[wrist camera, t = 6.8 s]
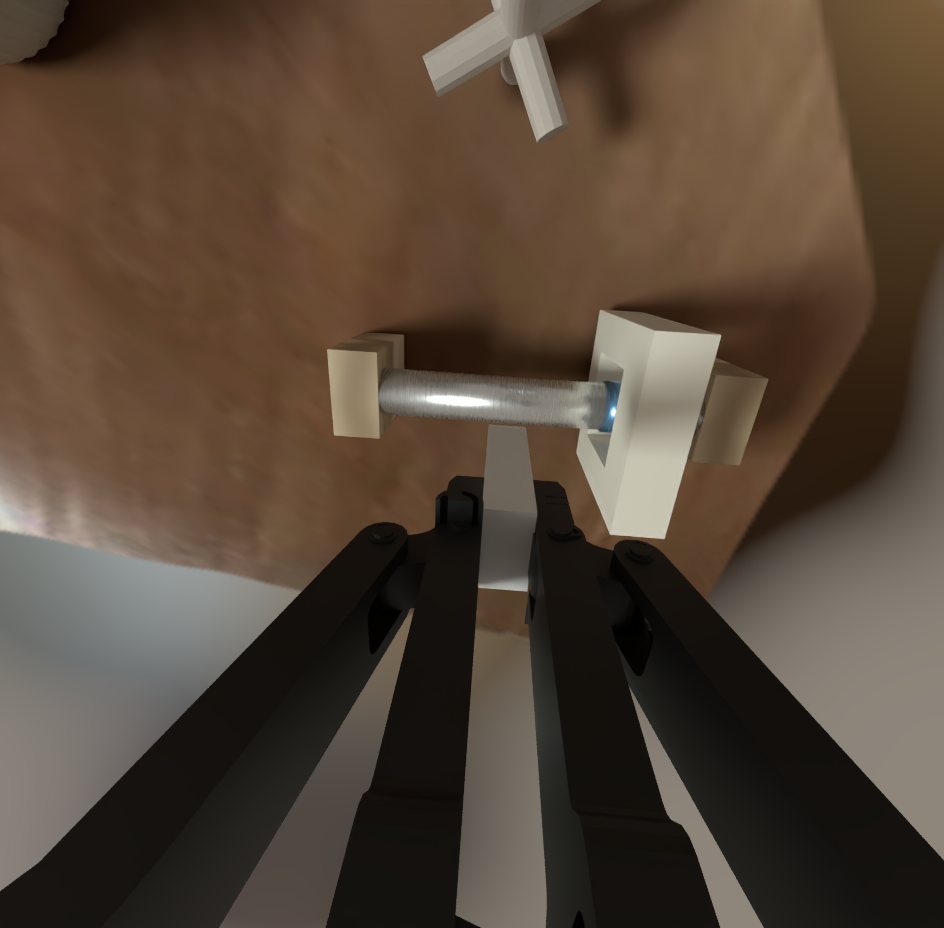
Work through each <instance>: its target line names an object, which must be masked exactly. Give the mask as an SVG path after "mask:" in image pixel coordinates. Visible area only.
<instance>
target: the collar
mask: <svg viewBox="0 0 944 928" xmlns="http://www.w3.org/2000/svg"><path fill="white" fill-rule="evenodd" d="M720 339H721V335H720V334H716V333H713V332H709V331H706V330H702V329H699V328H696V327H692V326H689V325H685V324H682V323H678V322H675V321H671V320H668V319H664V318H661V317H657V316H654V315H651V314H647V313H644V312H630V311H614V310H600V313H599V319H598V325H597V331H596V337H595V343H594V349H593V355H592V361H591V367H590V373H589V379H588V382H598V383H604V381H619V382H622V383H621V388H620V393H619V398H618V403H617V408H616V413H615V418H614V423H613V428H612V433H605V432H599V431H598V430H595V429H582V428H580V434H579V440H578V446H577V452H576V453H577V456H578V458H579V460H580V463H581V465H582V468H583V470H584V472H585V475H586V477H587V480H588V482H589V485H590V487H591V489H592V492H593V494H594V497H595V499H596V501H597V504H598V506H599V509H600V511H601V513H602V516H603V518H604V521H605V523H606V526H607V528H608V530H609V533H610V535H623V536H635V537H648V538H660V539H665V535H666V532H667V528H668V524H669V521H670V517H671V514H672V510H673V507H674V503H675V499H676V496H677V492H678V489H679V485H680V482H681V478H682V474H683V471H684V467H685V464H686V460H687V457H688V453H689V450H690V446H691V442H692V439H693V435H694V432H695V428H696V425H697V421H698V417H699V414H700V410H701V407H702V403H703V400H704V396H705V392H706V389H707V385H708V382H709V378H710V375H711V371H712V367H713V364H714V360H715V357H716V353H717V350H718V346H719V343H720Z"/></svg>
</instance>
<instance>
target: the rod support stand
mask: <svg viewBox="0 0 944 928" xmlns="http://www.w3.org/2000/svg"><path fill="white" fill-rule="evenodd" d="M327 352H328V365H329V378H330V390H331V403H332V415H333V428H334V435H338V436H352V437H365V438H379V439H380V437H381V436H382V435H383V433H384V432H385V430H386V429H387V428H388V426H389V425H390V424H391V422H392V421H393V419H394V418H395V417H396V415H387V414H382V413H381V412H380V408H379V402H378V386H379V379H380V374H381V372H382V370H383V368H393V369H404V335H400V334H385V333H370V332H365V333H362V334H360V335H358V336H356V337H353V338H351V339H349V340H347V341H345V342H342V343H340V344H338V345H336V346H333V347H331V348H329V349H327ZM768 380H769V379H768V378H765V377H763V376H760V375H758V374H755V373H753V372H750V371H748V370H745V369H743V368H740V367H738V366H735V365H733V364H730V363H728V362H725V361H723V360H720V359H718V358H716V357H715V360H714V364H713V367H712V371H711V375H710V378H709V382H708V385H707V389H706V392H705V396H704V398H705V415H704V420H703V423H702V426H701V428H700V430H699V431H698V432H697V433H696V434H695V435H694V436H693V439H692V442H691V446H690V450H689V453H688V457H687V458H688V459H689V460H690V461H691V462H704V463H717V464H731V465H740V463H741V460H742V457H743V454H744V451H745V448H746V445H747V442H748V439H749V436H750V433H751V430H752V427H753V424H754V421H755V418H756V415H757V412H758V409H759V406H760V403H761V400H762V397H763V394H764V391H765V388H766V386H767V383H768Z"/></svg>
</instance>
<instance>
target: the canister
mask: <svg viewBox="0 0 944 928" xmlns="http://www.w3.org/2000/svg"><path fill="white" fill-rule="evenodd" d="M68 5H69V1H68V0H0V65H4V64H6V63H18V62H20V61H22V60H23V59H24V58H29V57H33V56H35V55H36V53H37V52H38V50H39V49H43V48H45V47H47V45H48V41H49V40H50V39H51V38H52V37H54V36H56V34H57V29H58V26H59V25H60V23H61V22H63V21H64V11H65V8H66V7H67V6H68Z"/></svg>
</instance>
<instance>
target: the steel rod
mask: <svg viewBox="0 0 944 928" xmlns="http://www.w3.org/2000/svg"><path fill="white" fill-rule="evenodd" d="M621 383H622V382H619V381H604V383H598V382H584V381H569V380H554V379H540V378H525V377H510V376H496V375H481V374H466V373H452V372H437V371H422V370H408V369H393V368H383V370H382V372H381V374H380V379H379V386H378V402H379V408H380V412H381V413H382V414H387V415H401V416H415V417H429V418H443V419H456V420H470V421H484V422H498V423H512V424H526V425H540V426H554V427H568V428H582V429H595V430H598V431H599V432H605V433H612V428H613V423H614V418H615V413H616V408H617V403H618V398H619V393H620V388H621ZM704 415H705V398H704V400H703V403H702V407H701V410H700V414H699V417H698V421H697V425H696V428H695V432H694V435H695V434H696V433H697V432H698V431H699V430H700V428H701V426H702V423H703V420H704ZM694 435H693V436H694Z"/></svg>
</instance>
